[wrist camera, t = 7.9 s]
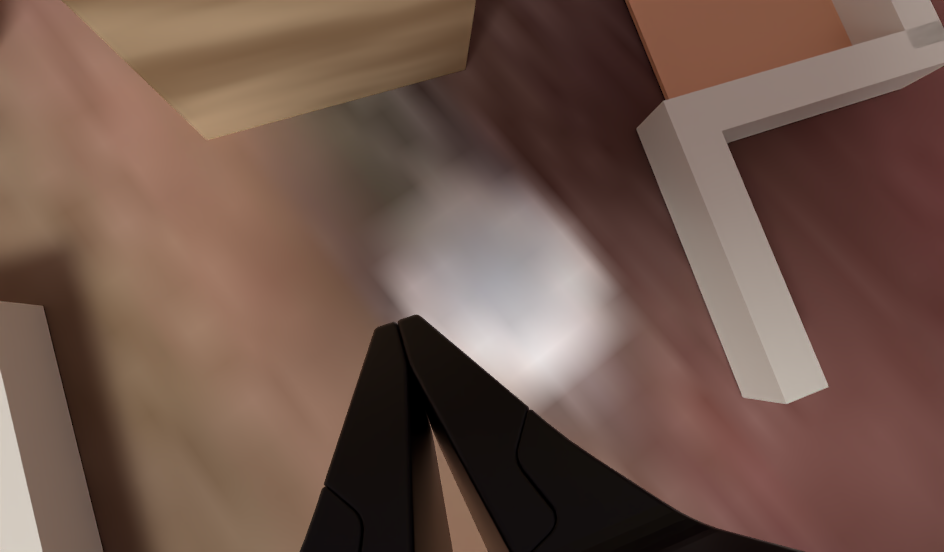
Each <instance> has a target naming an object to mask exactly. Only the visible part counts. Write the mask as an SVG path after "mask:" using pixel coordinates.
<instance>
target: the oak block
mask: <svg viewBox="0 0 944 552" xmlns="http://www.w3.org/2000/svg"><path fill="white" fill-rule="evenodd" d="M62 1H63V2H64V3H65V4H66V5H67V6H68V7H69V8H70V9H71V10H72V11H73V12H74V13H75V14H76V15H77V16H78V17H79V18H80V19H81V20H83V21H84V22H85V23H86V24H87V25H88V26H89V27H90V28H91V29H92V30H93V31H94V32H95V33H96V34H97V35H98V36H99V37H100V38H101V39H102V40H103V41H104V42H105V43H106V44H107V45H108V46H110V47H111V48H112V49H113V50H114V51H115V52H116V53H117V54H118V55H119V56H120V57H121V58H122V59H123V60H124V61H125V62H126V63H127V64H128V65H129V66H130V67H131V68H132V69H133V70H134V71H135V72H136V73H138V74H139V75H140V76H141V77H142V78H143V79H144V80H145V81H146V82H147V83H148V84H149V85H150V86H151V87H152V88H153V89H154V90H155V91H156V92H157V93H158V94H159V95H160V96H161V97H162V98H163V99H164V100H166V101H167V102H168V103H169V104H170V105H171V106H172V107H173V108H174V109H175V110H176V111H177V112H178V113H179V114H180V115H181V116H182V117H183V118H184V119H185V120H186V121H187V122H188V123H189V124H190V125H191V126H193V127H194V128H195V129H196V130H197V131H198V132H199V133H200V134H201V135H202V136H203V137H204V138H205V139H206V140H210V139H214V138H217V137H221V136H225V135H228V134H232V133H236V132H239V131H243V130H247V129H250V128H254V127H258V126H261V125H265V124H269V123H272V122H276V121H280V120H283V119H287V118H290V117H294V116H298V115H301V114H305V113H309V112H312V111H316V110H320V109H323V108H327V107H331V106H334V105H338V104H342V103H345V102H349V101H353V100H356V99H360V98H363V97H367V96H371V95H374V94H378V93H382V92H385V91H389V90H393V89H396V88H400V87H404V86H407V85H411V84H415V83H418V82H422V81H426V80H429V79H433V78H436V77H440V76H444V75H447V74H451V73H455V72H458V71H462V70H465V68H466V62H467V55H468V49H469V42H470V36H471V29H472V23H473V16H474V10H475V3H476V0H62Z"/></svg>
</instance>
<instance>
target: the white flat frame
mask: <svg viewBox="0 0 944 552" xmlns="http://www.w3.org/2000/svg"><path fill="white" fill-rule="evenodd" d="M625 2H626V4H627V7H628V9H629V12H630V14H631V17H632V19H633V22H634V24H635V26H636V29H637V31H638V34H639V36H640V39H641V41H642V44H643V46H644V48H645V51H646V53H647V56H648V58H649V61H650V63H651V66H652V68H653V71H654V73H655V75H656V78H657V80H658V83H659V85H660V88H661V90H662V93H663V95H664V98H665V100H664V101H663V102H662V103H661V104H660V105H659V106H658V107H657V108H656V109H655V110H654V111H653V112H652V113H651V114H650V115H649V116H648V117H647V118H646V119H645V120H644V121H643V122H642V123H641V124H640V125H639V126H638V127H637V128H636V130H637V133H638V135H639V138H640V140H641V143H642V145H643V148H644V150H645V153H646V155H647V158H648V160H649V163H650V165H651V168H652V170H653V173H654V175H655V178H656V180H657V183H658V185H659V188H660V190H661V193H662V195H663V198H664V200H665V203H666V205H667V208H668V210H669V213H670V215H671V218H672V220H673V223H674V225H675V228H676V231H677V233H678V236H679V238H680V241H681V243H682V246H683V248H684V251H685V253H686V256H687V258H688V261H689V263H690V266H691V268H692V271H693V273H694V276H695V278H696V281H697V283H698V286H699V288H700V291H701V293H702V296H703V298H704V301H705V303H706V306H707V308H708V311H709V313H710V316H711V318H712V321H713V323H714V326H715V329H716V331H717V334H718V336H719V339H720V341H721V344H722V346H723V349H724V351H725V354H726V356H727V359H728V361H729V364H730V366H731V369H732V371H733V374H734V376H735V379H736V381H737V384H738V386H739V389H740V391H741V394H742V396H743V397H744V398H750V399H757V400H763V401H770V402H776V403H783V404H788V403H790V402H793V401H795V400H798V399H800V398H803V397H805V396H808V395H810V394H812V393H815V392H817V391H820V390H822V389H825V388H827V387H829V386H828V384H827V381H826V379H825V377H824V374H823V372H822V369H821V367H820V365H819V362H818V360H817V357H816V355H815V353H814V350H813V348H812V346H811V343H810V341H809V338H808V336H807V334H806V331H805V329H804V326H803V324H802V322H801V319H800V317H799V314H798V312H797V310H796V307H795V305H794V303H793V300H792V298H791V295H790V293H789V291H788V288H787V286H786V283H785V281H784V279H783V276H782V274H781V271H780V269H779V267H778V264H777V262H776V259H775V257H774V255H773V252H772V250H771V248H770V245H769V243H768V240H767V238H766V236H765V233H764V231H763V228H762V226H761V224H760V221H759V219H758V216H757V214H756V212H755V209H754V207H753V204H752V202H751V200H750V197H749V195H748V193H747V190H746V188H745V185H744V183H743V181H742V178H741V176H740V173H739V171H738V169H737V166H736V164H735V161H734V159H733V157H732V154H731V152H730V149H729V147H728V145H727V143H729V142H732V141H736V140H739V139H742V138H745V137H748V136H752V135H755V134H758V133H761V132H764V131H768V130H771V129H774V128H777V127H780V126H784V125H787V124H790V123H793V122H796V121H800V120H803V119H806V118H809V117H812V116H816V115H819V114H822V113H825V112H828V111H832V110H835V109H838V108H841V107H844V106H848V105H851V104H854V103H857V102H860V101H864V100H867V99H870V98H873V97H876V96H879V95H883V94H886V93H889V92H892V91H895V90H899V89H902V88H904V87H906V86H908V85H909V84H911V83H913V82H915V81H917V80H919V79H921V78H922V77H924V76H926V75H928V74H930V73H932V72H934V71H935V70H937V69H939V68H941V67H943V66H944V28H943V26H942V24H941V21H940V19H939V17H938V15H937V13H936V11H935V9H934V7H933V5H932V3H931V1H930V0H625ZM0 552H103V548H102V544H101V540H100V536H99V532H98V528H97V524H96V520H95V516H94V512H93V508H92V504H91V500H90V496H89V491H88V487H87V483H86V479H85V475H84V471H83V467H82V463H81V459H80V455H79V451H78V447H77V443H76V438H75V434H74V430H73V426H72V422H71V418H70V414H69V410H68V406H67V402H66V398H65V394H64V390H63V385H62V381H61V377H60V373H59V369H58V365H57V361H56V357H55V353H54V349H53V345H52V341H51V337H50V333H49V328H48V324H47V320H46V316H45V312H44V308H43V306H40V305H32V304H23V303H14V302H5V301H0Z"/></svg>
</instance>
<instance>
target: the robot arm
mask: <svg viewBox="0 0 944 552" xmlns="http://www.w3.org/2000/svg"><path fill="white" fill-rule="evenodd" d="M429 421H430V423H429ZM430 424H431V426H430ZM431 427H432V430H433V432H434V435H435V437H436V439H437V442H438V444H439V446H440V448H441V450H442V452H443V455H444V457H445V459H446V461H447V463H448V465H449V468H450V470H451V472H452V474H453V476H454V479H455V481H456V483H457V485H458V487H459V489H460V492H461V494H462V496H463V498H464V500H465V502H466V505H467V507H468V509H469V511H470V513H471V515H472V518H473V520H474V522H475V524H476V526H477V528H478V531H479V533H480V535H481V537H482V539H483V541H484V544H485V546H486V548H487V550H488V552H804V551H800V550H797V549H793V548H789V547H785V546H782V545H778V544H774V543H770V542H767V541H763V540H759V539H755V538H751V537H748V536H744V535H740V534H736V533H733V532H729V531H725V530H722V529H718V528H715V527H712V526H710V525H707V524H704V523H702V522H700V521H697V520H695V519H693V518H691V517H689V516H687V515H685V514H683V513H681V512H680V511H678V510H676V509H674V508H673V507H671V506H670V505H668V504H666V503H665V502H663V501H662V500H660V499H658V498H657V497H655V496H654V495H652V494H651V493H649V492H648V491H646V490H644V489H643V488H641V487H640V486H638V485H637V484H635V483H634V482H632V481H631V480H629V479H627V478H626V477H624V476H623V475H621V474H620V473H618V472H617V471H615V470H613V469H612V468H610V467H609V466H607V465H606V464H604V463H603V462H601V461H600V460H598V459H596V458H595V457H594V456H592V455H591V454H589V453H588V452H586V451H585V450H583V449H582V448H580V447H579V446H577V445H576V444H575V443H573V442H572V441H570V440H569V439H568V438H566V437H565V436H564V435H562V434H561V433H560V432H559V431H557V430H556V429H555V428H554V427H552V426H551V425H550V424H548V423H547V422H546V421H545V420H544V419H542V418H541V417H540V416H539V415H538V414H536V413H535V412H534V411H533V410H529V407H528V406H527V405H525V404H524V403H523V402H522V401H521V400H520V399H518V398H517V397H516V396H515V395H514V394H512V393H511V392H510V391H509V390H508V389H506V388H505V387H504V386H503V385H502V384H501V383H499V382H498V381H497V380H496V379H495V378H493V377H492V376H491V375H490V374H489V373H487V372H486V371H485V370H484V369H483V368H482V367H480V366H479V365H478V364H477V363H476V362H474V361H473V360H472V359H471V358H470V357H468V356H467V355H466V354H465V353H464V352H463V351H461V350H460V349H459V348H458V347H457V346H455V345H454V344H453V343H452V342H451V341H449V340H448V339H447V338H446V337H445V336H444V335H442V334H441V333H440V332H439V331H438V330H436V329H435V328H434V327H433V326H432V325H430V324H429V323H428V322H427V321H426V320H425V319H423V318H422V317H421V316H419V315H413V316H410V317H407V318H404V319H401V320H399V321H398V324H397V323H396V322H392V323H389V324H386V325H383V326H380V327H377V328H376V329H375V330H374V333H373V336H372V339H371V342H370V345H369V348H368V351H367V354H366V357H365V360H364V363H363V366H362V369H361V372H360V376H359V379H358V382H357V385H356V388H355V391H354V394H353V397H352V400H351V403H350V406H349V409H348V412H347V415H346V418H345V421H344V424H343V427H342V430H341V433H340V436H339V439H338V443H337V446H336V449H335V452H334V455H333V458H332V461H331V464H330V467H329V470H328V473H327V476H326V479H325V482H324V485H325V487H323V488H322V490H321V494H320V497H319V500H318V503H317V506H316V509H315V512H314V515H313V517H312V520H311V523H310V526H309V529H308V531H307V534H306V537H305V540H304V542H303V545H302V547H301V550H300V552H453V550H452V544H451V539H450V533H449V527H448V521H447V515H446V509H445V504H444V498H443V492H442V486H441V480H440V474H439V469H438V463H437V457H436V451H435V445H434V440H433V435H432V430H431Z"/></svg>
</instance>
